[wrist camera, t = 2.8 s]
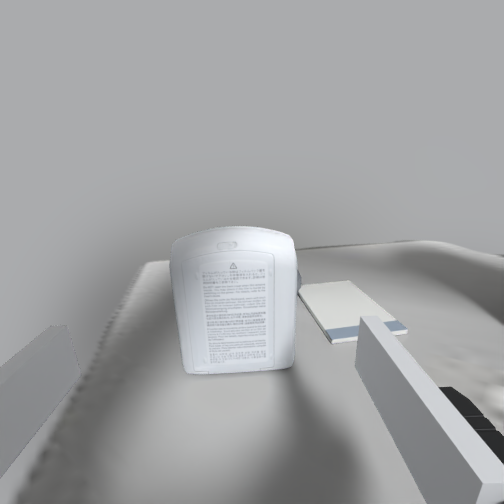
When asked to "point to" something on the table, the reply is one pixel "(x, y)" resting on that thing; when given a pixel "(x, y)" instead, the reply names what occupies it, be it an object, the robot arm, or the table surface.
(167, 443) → the table surface
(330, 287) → the notepad
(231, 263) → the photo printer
